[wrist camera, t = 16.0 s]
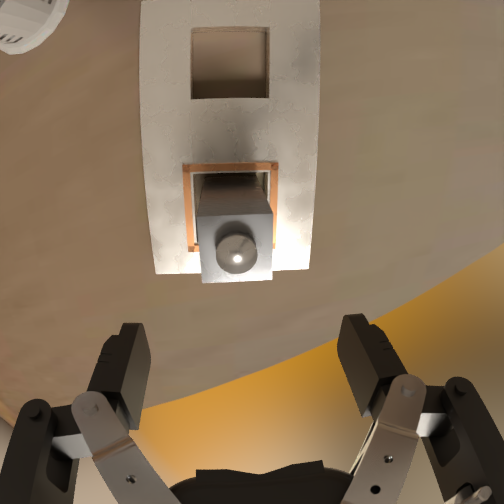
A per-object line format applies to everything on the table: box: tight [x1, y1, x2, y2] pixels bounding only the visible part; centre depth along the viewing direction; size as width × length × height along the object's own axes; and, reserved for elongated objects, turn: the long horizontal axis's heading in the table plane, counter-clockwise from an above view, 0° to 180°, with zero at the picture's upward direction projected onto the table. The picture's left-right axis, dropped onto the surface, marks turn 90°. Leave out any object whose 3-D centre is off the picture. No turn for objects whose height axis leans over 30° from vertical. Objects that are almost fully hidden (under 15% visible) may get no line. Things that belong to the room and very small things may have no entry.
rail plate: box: [139, 0, 320, 274], centre depth 24 cm, size 24×14×2 cm, turn 0°
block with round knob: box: [197, 175, 273, 283], centre depth 23 cm, size 4×4×11 cm
